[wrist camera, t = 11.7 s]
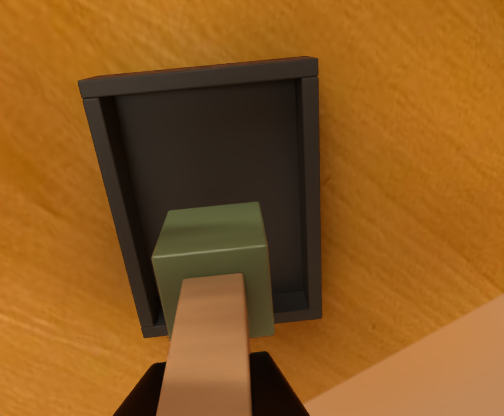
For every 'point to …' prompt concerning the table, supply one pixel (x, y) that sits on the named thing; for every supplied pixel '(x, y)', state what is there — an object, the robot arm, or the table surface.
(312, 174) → the tray
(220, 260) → the scrub brush
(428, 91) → the table surface
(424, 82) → the table surface
